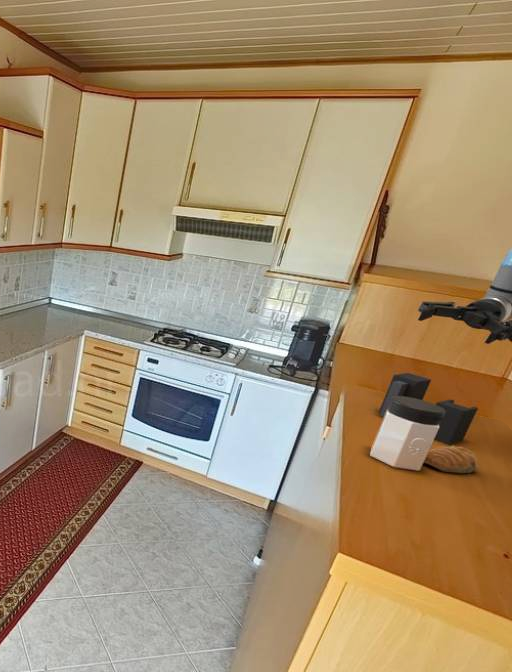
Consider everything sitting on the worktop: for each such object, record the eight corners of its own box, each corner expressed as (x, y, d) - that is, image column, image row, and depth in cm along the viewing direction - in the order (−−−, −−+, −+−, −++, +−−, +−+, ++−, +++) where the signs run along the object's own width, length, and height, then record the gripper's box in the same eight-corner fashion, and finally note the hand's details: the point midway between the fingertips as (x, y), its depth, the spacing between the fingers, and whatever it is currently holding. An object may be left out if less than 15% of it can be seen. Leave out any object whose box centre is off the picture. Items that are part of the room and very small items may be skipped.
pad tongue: (392, 409, 126) (407, 372, 122) (415, 417, 122) (431, 379, 118) (372, 413, 121) (387, 375, 118) (395, 421, 117) (411, 382, 113)
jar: (381, 466, 92) (406, 408, 88) (358, 447, 100) (380, 392, 96) (432, 474, 91) (460, 415, 87) (405, 454, 99) (429, 399, 95)
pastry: (447, 477, 91) (456, 459, 90) (409, 459, 97) (416, 442, 96) (478, 473, 94) (487, 455, 93) (439, 456, 100) (447, 439, 99)
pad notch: (436, 430, 114) (450, 399, 111) (462, 440, 110) (478, 407, 107) (422, 434, 111) (436, 402, 108) (448, 444, 106) (464, 411, 104)
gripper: (539, 345, 120) (511, 363, 109) (423, 308, 137) (389, 320, 127) (560, 317, 116) (532, 333, 106) (438, 282, 133) (404, 293, 123)
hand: (454, 326), depth 116 cm, fingers open, 13 cm apart
